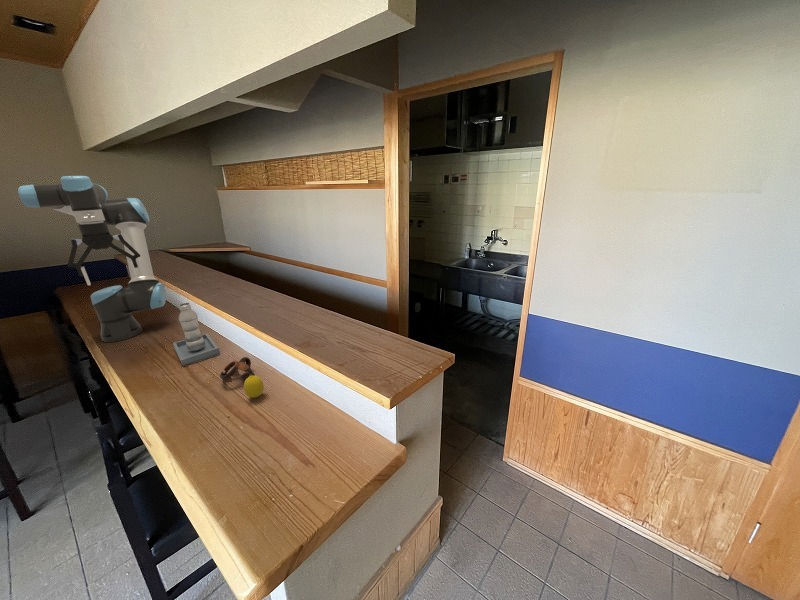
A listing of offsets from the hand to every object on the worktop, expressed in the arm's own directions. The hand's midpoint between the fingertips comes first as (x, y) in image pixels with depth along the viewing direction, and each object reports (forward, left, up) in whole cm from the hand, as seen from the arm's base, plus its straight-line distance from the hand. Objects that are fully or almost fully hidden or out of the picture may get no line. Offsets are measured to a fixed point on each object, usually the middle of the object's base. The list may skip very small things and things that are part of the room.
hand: (113, 280), depth 120 cm
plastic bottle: (+13, +18, -32) cm, 39 cm away
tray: (+13, +18, -33) cm, 39 cm away
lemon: (+63, +25, -33) cm, 75 cm away
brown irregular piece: (+48, +25, -33) cm, 63 cm away
